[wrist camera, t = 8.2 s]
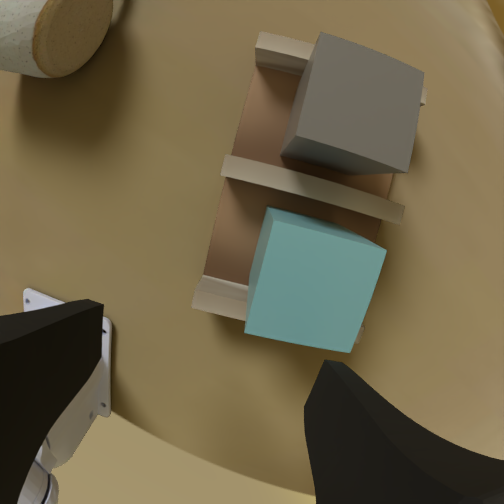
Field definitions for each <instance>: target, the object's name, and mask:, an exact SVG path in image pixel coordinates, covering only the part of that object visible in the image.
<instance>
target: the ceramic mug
mask: <svg viewBox="0 0 504 504" xmlns="http://www.w3.org/2000/svg"><path fill="white" fill-rule="evenodd" d="M112 12H113V0H0V70H4V71H10V72H15V73H21V74H25V75H30V76H34V77H39V78H57V77H63V76H66V75H69V74H71V73H73V72H75V71H76V70H78V69H79V68H80V67H81V66H83V65H84V64H85V63H86V62H87V61H88V60H89V59H90V58H91V57H92V56H93V54H94V53H95V52H96V50H97V49H98V48H99V46H100V44H101V43H102V41H103V39H104V37H105V35H106V33H107V31H108V28H109V25H110V22H111V18H112Z"/></svg>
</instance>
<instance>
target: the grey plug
mask: <svg viewBox="0 0 504 504" xmlns="http://www.w3.org/2000/svg"><path fill="white" fill-rule="evenodd" d="M423 81H424V72H422V71H420V70H418V69H416V68H414V67H412V66H410V65H408V64H405V63H403V62H401V61H399V60H397V59H394V58H392V57H390V56H387V55H385V54H382V53H380V52H378V51H375V50H372V49H370V48H367V47H365V46H362V45H359V44H356V43H354V42H351V41H348V40H345V39H342V38H339V37H336V36H333V35H330V34H326V33H323V32H320V35H319V37H318V39H317V42H316V44H315V46H314V49H313V51H312V53H311V56H310V58H309V60H308V63H307V65H306V67H305V70H304V72H303V75H302V77H301V79H300V82H299V84H298V86H297V89H296V93H295V97H294V101H293V105H292V109H291V113H290V117H289V121H288V125H287V129H286V133H285V137H284V141H283V145H282V149H281V153H280V155H281V156H284V157H288V158H292V159H296V160H299V161H303V162H306V163H310V164H313V165H317V166H320V167H324V168H327V169H330V170H333V171H337V172H340V173H343V174H346V175H349V176H354V175H371V174H391V173H408V169H409V164H410V160H411V155H412V150H413V145H414V140H415V134H416V128H417V123H418V117H419V110H420V103H421V96H422V89H423Z"/></svg>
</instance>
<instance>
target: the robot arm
mask: <svg viewBox="0 0 504 504" xmlns="http://www.w3.org/2000/svg"><path fill="white" fill-rule="evenodd" d="M23 299H24V312H21V313H16V314H11V315H4V316H0V504H57V503H58V492H59V490H58V482H57V480H56V478H55V476H54V475H53V474H52V473H51V471H52V469H53V468H57V467H59V466H61V465H63V464H64V463H66V462H67V461H68V460H69V459H70V458H71V457H72V455H73V454H74V452H75V450H76V449H77V447H78V445H79V444H80V442H81V441H82V439H83V437H84V436H85V434H86V433H87V431H88V429H89V428H90V426H91V424H92V423H93V421H94V420H95V418H96V416H97V415H98V414H99V415H101V416H104V417H109V416H110V414H111V395H110V368H111V336H112V323H111V321H110V320H109V319H108V318H106V317H103V309H104V304H101V303H98V302H95V301H92V300H89V299H84V300H77V301H72V302H68V303H65V302H62V301H60V300H57V299H55V298H52V297H50V296H47V295H45V294H42V293H40V292H38V291H35V290H33V289H30V288H27V289H25V290H24V292H23ZM28 299H29V301H30V302H29V301H28ZM103 329H104V330H105V331H106V333H104V332H103ZM104 403H105V404H104ZM304 427H305V437H306V443H307V448H308V454H309V459H310V464H311V470H312V475H313V480H314V486H315V494H316V504H504V460H499V459H495V458H491V457H488V456H484V455H481V454H478V453H475V452H472V451H470V450H467V449H465V448H462V447H460V446H458V445H455V444H453V443H451V442H449V441H447V440H445V439H443V438H441V437H439V436H437V435H435V434H434V433H432V432H430V431H429V430H427V429H425V428H424V427H422V426H421V425H419V424H417V423H416V422H414V421H413V420H411V419H410V418H409V417H407V416H406V415H404V414H403V413H402V412H401V411H399V410H398V409H397V408H395V407H394V406H393V405H392V404H390V403H389V402H388V401H387V400H386V399H384V398H383V397H382V396H381V395H380V394H379V393H377V392H376V391H375V390H374V389H373V388H372V387H371V386H369V385H368V384H367V383H366V382H365V381H364V380H363V379H362V378H361V377H359V376H358V375H357V374H356V373H355V372H354V371H353V370H351V369H350V368H349V367H348V366H346V365H345V364H344V363H342V362H336V361H330V360H324V362H323V365H322V367H321V369H320V372H319V374H318V377H317V379H316V381H315V383H314V386H313V388H312V390H311V393H310V395H309V397H308V399H307V401H306V404H305V406H304Z"/></svg>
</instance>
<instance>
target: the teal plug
mask: <svg viewBox="0 0 504 504" xmlns="http://www.w3.org/2000/svg"><path fill="white" fill-rule="evenodd" d="M386 252H387V250H385V249H384V248H382V247H380V246H378V245H376V244H375V243H373V242H371V241H369V240H367V239H366V238H364V237H362V236H360V235H358V234H356V233H354V232H353V231H351V230H349V229H347V228H345V227H343V226H341V225H339V224H337V223H334V222H330V221H326V220H323V219H319V218H315V217H312V216H308V215H304V214H300V213H296V212H293V211H289V210H285V209H281V208H277V207H273V206H269V205H267V207H266V211H265V215H264V219H263V223H262V227H261V231H260V235H259V239H258V243H257V247H256V251H255V255H254V259H253V263H252V267H251V271H250V275H249V286H248V297H247V308H246V319H245V330H244V333H247V334H251V335H256V336H261V337H265V338H270V339H275V340H280V341H285V342H290V343H295V344H300V345H306V346H311V347H317V348H322V349H328V350H334V351H340V352H346V353H350V352H351V349H352V347H353V344H354V342H355V339H356V337H357V334H358V332H359V329H360V327H361V324H362V322H363V319H364V316H365V314H366V311H367V308H368V306H369V303H370V300H371V297H372V294H373V292H374V289H375V286H376V283H377V280H378V277H379V274H380V271H381V268H382V265H383V262H384V258H385V255H386Z"/></svg>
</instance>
